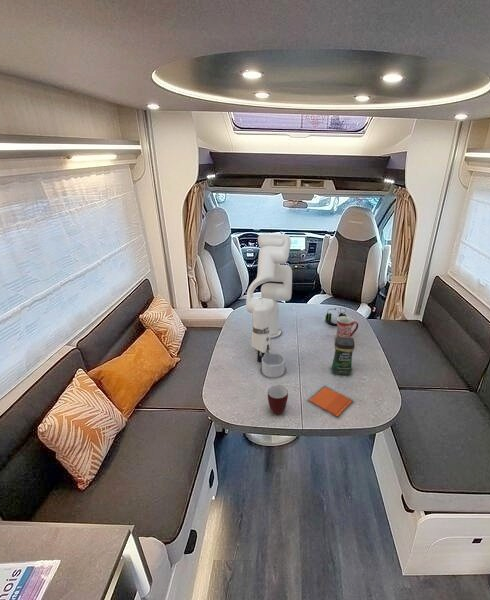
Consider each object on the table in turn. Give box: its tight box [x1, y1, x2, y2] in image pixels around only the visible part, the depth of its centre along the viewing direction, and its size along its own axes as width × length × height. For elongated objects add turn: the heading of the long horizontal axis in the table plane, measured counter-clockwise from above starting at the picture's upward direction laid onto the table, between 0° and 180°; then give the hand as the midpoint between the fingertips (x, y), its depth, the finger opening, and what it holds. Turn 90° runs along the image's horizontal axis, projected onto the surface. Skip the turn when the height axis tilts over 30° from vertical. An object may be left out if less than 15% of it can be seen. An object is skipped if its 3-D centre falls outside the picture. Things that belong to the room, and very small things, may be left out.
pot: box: [261, 352, 286, 378], centre depth 153 cm, size 11×11×6 cm
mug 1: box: [267, 384, 289, 416], centre depth 127 cm, size 11×8×10 cm
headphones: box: [324, 307, 348, 328], centre depth 202 cm, size 16×10×20 cm
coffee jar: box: [331, 336, 356, 376], centre depth 151 cm, size 10×8×19 cm
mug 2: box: [336, 315, 359, 338], centre depth 180 cm, size 13×9×14 cm
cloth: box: [309, 386, 353, 418], centre depth 135 cm, size 14×12×1 cm
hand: (260, 361), depth 158 cm, fingers closed
